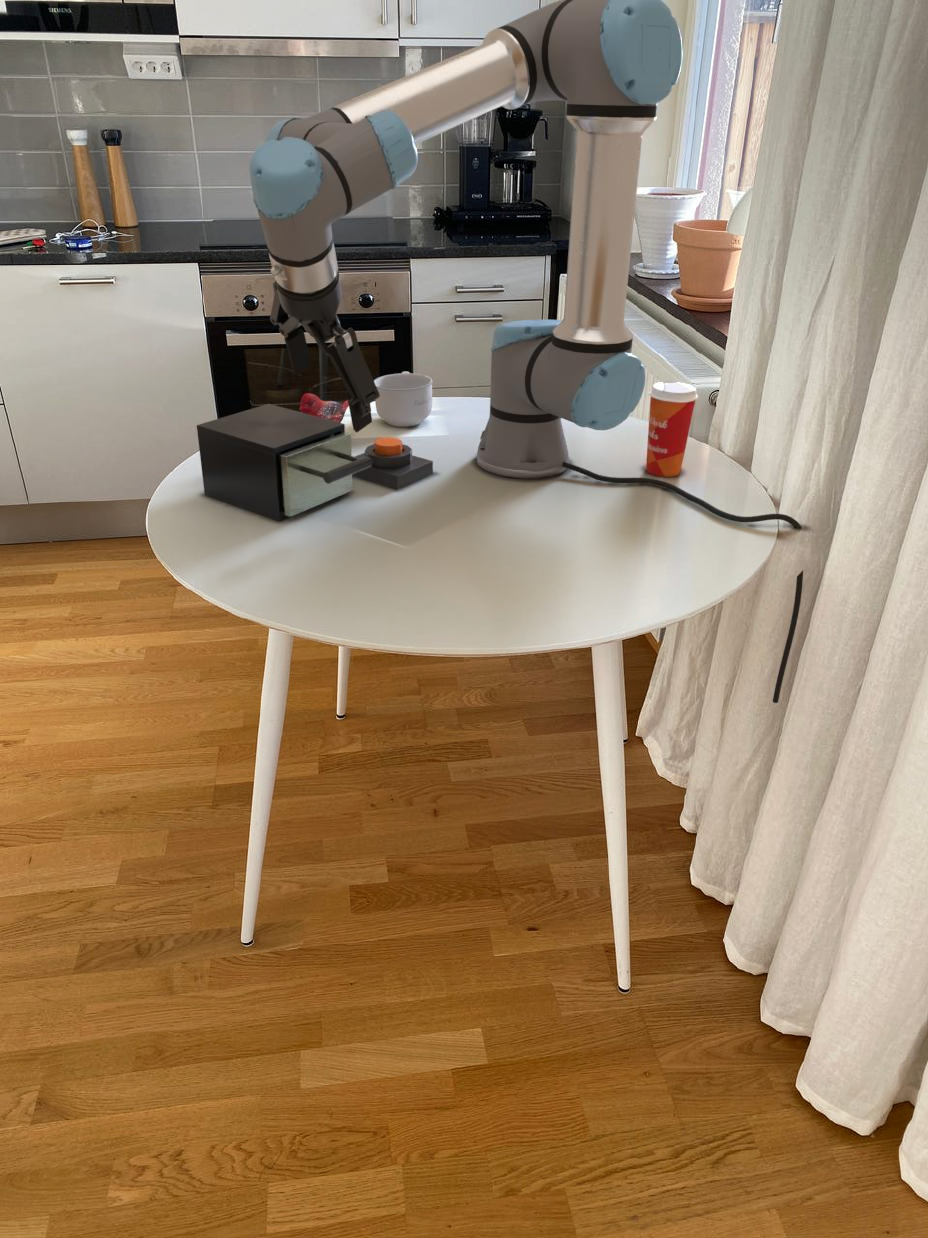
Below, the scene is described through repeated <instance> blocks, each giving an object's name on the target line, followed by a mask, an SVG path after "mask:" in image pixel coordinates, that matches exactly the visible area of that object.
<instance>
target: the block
mask: <svg viewBox="0 0 928 1238" xmlns="http://www.w3.org/2000/svg"><path fill="white" fill-rule="evenodd" d="M366 456H368V457H370V458H371V460H372V466H371V467H369V468H367V469H364V470H362V471H359V472H357V473H354V474H352V477H355V478H357V479H362V480H366V481H369V482H372V483H375V484H378V485H382V486H385V487H389V488H392V489H395V490H399V489H402V488H405V487H406V486H408V485H411V484H413V483H415V482H417V481H420V480H422V479H425V478H426V477H428V476H431V475H433V474H434V460H430V459H427V458H423V457H419V456H416V455H413V448H411V447H410V446H409V445H407V444H403V443H402V453H400V454H398V455H380V454H377V453H375V446H374V443H372V444H371V445H368V446H366V448H365V450H364V452H362V453H360V454H357V455H355V456H354V457H357V458H363V457H366Z"/></svg>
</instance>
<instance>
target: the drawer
mask: <svg viewBox="0 0 928 1238" xmlns="http://www.w3.org/2000/svg"><path fill="white" fill-rule="evenodd" d="M279 461H280V475H281V489H282V503H283V508H284V511H285V515H287V516H290V517H289V518H291V517H294V516H295V515H299V514H301V513H303V512H305V511H308V510H310V509H312V508H315V507H317V506H319V505H322V504H324V503H327V502H329V501H332V500H333V499H336V498H338V497H341V496H343V495H345V494H348V493H350V492H352V491H353V490H354V487H353V476H352V474H354V473H357V472H359V471H362V470H364V469H367V468H369V467H371V466H372V460H371V458H370V457H368V456H366V457H363V458H357V457H355V456H354V455H352V433H350V432H346V431H345V432H344V433H341V434H338V435H335V436H334V434H331V435H328V436H325V437H323V438H320V439H317V440H314V441H311V442H308V443H305V444H303V445H300V446H297V447H294V448H291V449H288V450H286V451H283V452H280V453H279Z"/></svg>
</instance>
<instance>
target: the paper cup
mask: <svg viewBox="0 0 928 1238" xmlns="http://www.w3.org/2000/svg"><path fill="white" fill-rule="evenodd" d="M648 395H649V396H650V400H649V418H648V431H647V447H646V462H645V463H646V464H645V465H646V467H645V469H646V470H645V471H646V472H647V473H649V474H650V475H653V476H656V477H664V478H665V477H666V478H669V477H677V476H678V475H680V474H681V470H682V466H683V462H684V457H685V453H686V452H685V451H686V447H687V443H688V438H689V433H690V428H691V425H692V424H691V423H692V418H693V414H694V408H695V404H696V401H697V400H698V398H699V395H698V393H697V388H696V387H695V386H694V385H692V384H689V383H686V382H680V381H675V382H673V381H665V382H663V381H659V382H655V383H653V384H652V387H651V390H650V391H648Z"/></svg>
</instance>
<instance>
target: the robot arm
mask: <svg viewBox="0 0 928 1238" xmlns="http://www.w3.org/2000/svg"><path fill="white" fill-rule="evenodd" d="M682 41H683V40H682V34H681V31H680V27H679V24H678V21H677V18H675V17H674V16H673V15H672V11H671V8H669V6H668V5H667V4H666V3H665V2H664V1H663V0H557V1H554V2H551V3H548V4H546V5H545V6H542V7H539V8H538V9H536V10H533V11H531V12H529V13H527V14H524V15H523V16H521V17H519V18H516V19H514V20H512V21H510V22H508V23H505V24H504V25H502V26H499V27H496V28H494V29H492V30H490V31H489V32H488V33H487V34H486V35H485V37H484V38H483V40H482V43H481V44H480V45H476V46H475V47H472V48H470V49H467V50H465V51H463V52H461V53H458V54H455V55H453V56H451V57H449V58H446V59H443V60H441V61H439V62H437V63H434V64H431V65H429V66H427V67H425V68H422V69H420V70H417V71H415V72H413V73H411V74H408V75H406V76H402V77H401V78H399V79H396V80H393V81H392V82H389V83H387V84H384V85H382V86H379V87H377V88H374V89H372V90H370V91H368V92H364V93H363V94H361V95H358V96H356V97H353V98H350V99H349V100H346V101H343V102H342V103H341V102H340V103H339V104H337V105H334V106H333V107H330V108H328V109H325V110H321V111H320V112H317V113H315V114H313V115H310V116H307V117H306V118H305V117H304V118H300V117H297V118H296V117H292V118H289V119H284V120H281V121H279V122H277V123H276V124H274V125H273V127H272V128H271V129H270V130H269V132H268V134H267V136H266V139H265V142H264V143H262V144H260V146H258V147H257V148H256V149H255V151H254V152H253V154H252V155H251V157H250V161H249V179H250V184H251V190H252V199H253V203H254V205H255V208H256V210H257V213H258V217H259V221H260V225H261V228H262V232H263V237H264V240H265V243H266V248H267V249H266V250H267V252H268V257H269V261H270V264H271V268H270V273H271V275H273V276H274V280H275V281H274V282H273V283H272V288H273V292H274V296H273V300H272V306H271V310H270V316H269V320H270V322H271V323H272V324H273V326H277V325H278V326H279V328H278V330H279V333H280V334H281V336H283V337H284V342H285V346H286V350H287V354H288V357H289V358H288V359H289V362H290V367H291V370H292V373H293V374H294V375H295V376H298V375H300V374H301V373H303V372H304V371H306V370H308V369H309V368H311V367H312V361H311V357H310V351H309V348H308V343H307V339H306V335H305V332H306V333H307V334H309V336H310V337H312V338H313V339H314V341H315V343H316V345H317V346H318V348H319V350H320V352H321V353H322V354H323V355H325V356H328V358H329V360H330V361H331V363H332V365H333V367H334V369H335V371H336V373H337V374H338V377H339V378H340V379H341V381H342V384H343V385H344V387H345V388H346V390H347V393H348V395H347V396H346V399H347V400H348V401H347V400H346V401H347V402H348V404H349V406H348V408H349V414H350V419H351V425H352V430H353V431H354V432H355V433H358V432H361V430H364V428H366V427H367V426H369V425H370V424H372V423H373V417H372V416H373V415H372V406H371V403H373V402H375V400H376V399H377V398H379V397H380V395H379V392H378V390H377V387H376V385H375V383H374V380H375V379H374V378H373V376H372V373H371V371H370V368H369V366H368V363H367V362H366V360H365V356H364V355H363V352H362V350H361V347H360V345H359V341H358V336H357V333H356V331H355V330H354V329H353V328H352V327H349V328H348V329H344V328H343V327H342V326H341V322H340V318H339V316H338V315H337V312H338V309H339V307H340V305H341V302H342V299H343V291H342V284H341V279H340V273H339V266H338V259H337V254H336V249H335V244H334V237H333V230H332V224H333V223H334V222H336V221H338V220H340V219H341V218H343V217H345V216H347V215H348V214H351V212H354V211H356V210H357V209H359V208H361V207H362V206H364V205H366V204H368V203H369V202H371V201H373V200H375V199H376V198H378V197H380V196H382V195H383V194H385V193H388V192H389V191H391V190H394V189H396V188H397V187H398V186H399V185H400V184H402V183H403V182H404V181H406V180H407V179H408V178H410V177H412V175H414V173H415V171H416V170H417V166H418V161H419V159H418V149H417V146H416V145H418V144H420V143H422V142H424V141H427V140H429V139H431V138H434V137H436V136H438V135H440V134H443V133H445V132H447V131H449V130H451V129H454V128H456V127H458V126H460V125H463V124H465V123H467V122H469V121H472V120H474V119H476V118H478V117H481V116H482V115H485V114H487V113H489V112H491V111H494V110H496V109H498V108H500V107H502V108H504V109H507V110H516V109H518V108H520V107H523V106H526V105H528V104H531V103H532V104H533V103H536V102H537V103H538V102H548V101H562V102H563V101H564V102H565V101H566V111H565V112H566V113H565V119H566V120H567V121H568V123H569V124H570V125H571V126H572V128H573V129H574V131H575V133H576V135H575V136H576V137H575V149H574V163H573V164H574V166H573V180H572V192H571V193H572V194H571V195H572V197H571V198H572V199H571V211H570V224H569V237H568V239H569V240H568V253H567V254H568V255H567V266H566V267H567V269H566V280H565V281H566V282H565V296H564V297H565V298H564V309H563V319H562V320H560V319H525V320H515V321H514V320H513V321H507V322H503V323H501V324H499V325H498V326H497V327H496V328H495V329H494V331H493V337H492V345H491V348H490V352H491V357H490V358H491V359H490V360H491V361H490V393H489V395H490V397H489V398H490V399H489V417H488V420H487V423H486V426H485V428H484V430H483V431H482V433H481V435H480V437H479V440H480V442H479V444H478V447H477V448H478V449H477V451H476V452H477V453H476V463H477V465H478V466H479V467H480V468H481V469H483V470H484V471H486V472H488V473H490V474H494V475H496V476H502V477H506V478H512V479H528V480H529V479H531V480H532V479H544V478H550V477H553V476H557V475H560V474H562V473H564V472H565V471H566V470H567V469H568V470H571V471H573V472H577V473H579V474H582V475H585V476H587V477H588V478H592V479H593V480H596V481H599V482H605V483H614V484H647V485H648V484H649V485H653V486H658V487H661V488H664V489H667V490H670V491H672V492H674V493H676V494H678V495H679V496H681V497H683V498H684V499H687V500H688V501H690V502H692V503H695V504H697V505H698V506H701V507H702V508H704V509H705V510H707V511H708V512H710V513H712V514H714V515H716V516H717V517H719V518H722V519H726V520H728V521H732V522H737V523H746V524H747V523H748V524H749V523H758V522H764V521H772V520H773V521H774V520H775V521H776V520H779V521H784V522H787V523H788V524H790V525H791V526H792V527H793V528H794V529H798V530H802V529H803V526H802V525H801V524H800V522H799V521H797V520H796V519H795V518H793V517H792V516H790V515H787V514H784V513H768V514H767V513H766V514H760V515H753V516H741V515H736V514H732V513H728V512H727V511H723V510H721V509H719V508H717V507H715V506H713V505H712V504H710V503H708V502H707V501H705V500H704V499H701V498H700V497H697V496H695V495H693V494H691V493H689V492H687V491H686V490H683V489H682V488H680V487H678V486H676V485H675V484H672V483H670V482H668V481H667V482H666V481H664V480H660V479H655V478H649V477H615V476H606V475H602V474H598V473H596V472H593V471H591V470H588V469H586V468H584V467H581V466H578V465H575V464H573V463H570V462H569V461H570V455H569V448H568V445H567V439H566V435H565V432H564V431H565V430H564V427H563V423H562V420H565V421H568V422H571V423H573V424H575V425H576V426H577V427H580V428H588V429H591V430H595V431H607V430H611V429H613V428H614V429H615V428H616V427H618V426H620V424H623V422H625V421H626V420H627V419H628V417H629V416H630V415H631V414H632V413H633V412H634V410H635V409H636V408H637V406H638V404H639V403H640V400H641V398H642V396H643V394H644V390H645V385H646V370H645V366H644V365H643V364H642V363H643V362H642V360H641V359H639V357H637V356H636V355H635V354H634V353H632V349H633V340H634V333H633V332H632V330H631V329H630V328H629V327H628V325H627V324H626V323H625V313H626V302H627V293H628V292H627V291H628V283H629V274H630V273H629V272H630V264H631V263H630V262H631V253H632V243H633V232H634V224H635V223H634V222H635V214H636V202H637V192H638V182H639V173H640V164H641V163H640V162H641V152H642V143H643V141H642V140H643V135H644V134H645V132H646V131H647V130H648V129H649V127H650V126H651V125H653V123H655V121H657V112H658V104H659V103H661V102H662V101H663V100H665V99H666V98H668V96H669V95H670V94H671V92H672V91H673V86H674V85H676V84H677V82H678V79H679V78H680V74H681V73H680V72H681V69H682V63H683V42H682ZM301 326H302V327H303V328H304V330H303V329H302V328H300V327H301ZM298 328H299V329H298ZM297 329H298V330H297ZM333 338H334V339H333ZM330 340H333V341H334V342H332V343H330V344H329V345H327V344H326V343H327V342H329V341H330ZM803 581H804V570H802V571H800V573H798V575H797V576H796V581H795V582H796V584H795V592H794V593H795V594H794V602H793V608H792V615H791V619H790V624H789V628H788V633H787V638H786V641H785V645H784V649H783V654H782V657H781V661H780V665H779V669H778V673H777V678H776V683H775V687H774V690H773V691H774V692H773V696H772V703H774V704H778V703H779V700H780V694H781V689H782V684H783V680H784V676H785V672H786V668H787V664H788V661H789V656H790V653H791V648H792V644H793V641H794V637H795V632H796V628H797V623H798V618H799V614H800V607H801V601H802V594H803Z"/></svg>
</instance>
